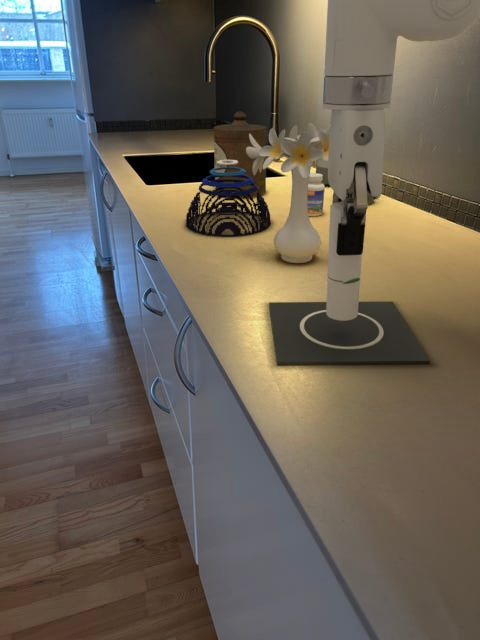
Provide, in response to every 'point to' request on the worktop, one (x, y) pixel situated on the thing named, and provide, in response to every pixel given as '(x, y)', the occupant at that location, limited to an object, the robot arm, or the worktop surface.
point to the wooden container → (239, 151)
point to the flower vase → (294, 186)
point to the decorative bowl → (228, 204)
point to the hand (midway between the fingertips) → (345, 246)
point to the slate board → (342, 335)
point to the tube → (341, 274)
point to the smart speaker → (323, 171)
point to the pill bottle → (315, 194)
